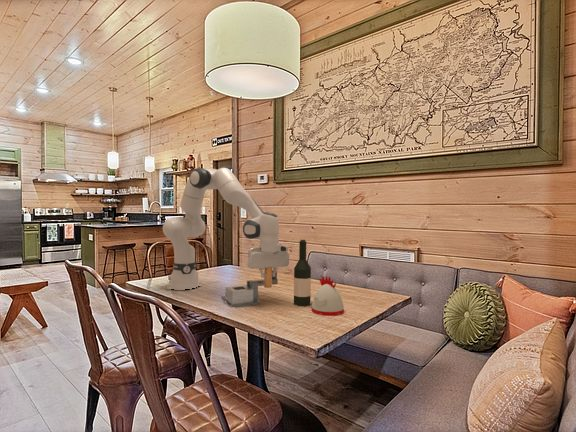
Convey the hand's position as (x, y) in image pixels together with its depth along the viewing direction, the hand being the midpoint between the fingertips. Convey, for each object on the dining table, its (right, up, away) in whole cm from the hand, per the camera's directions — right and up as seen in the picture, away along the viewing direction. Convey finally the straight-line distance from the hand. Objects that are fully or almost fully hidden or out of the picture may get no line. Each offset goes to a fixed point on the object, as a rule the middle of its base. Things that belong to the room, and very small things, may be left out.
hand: (268, 276), depth 160 cm
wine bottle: (+16, -13, 0) cm, 20 cm away
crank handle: (-3, -5, +6) cm, 8 cm away
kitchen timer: (+27, -13, -11) cm, 32 cm away
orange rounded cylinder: (0, -5, 0) cm, 5 cm away
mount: (-14, -12, +4) cm, 19 cm away
